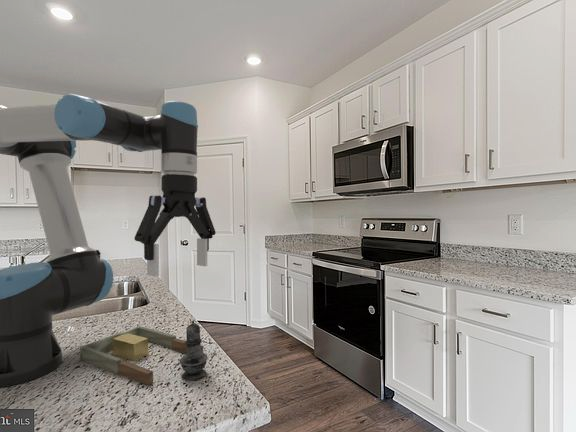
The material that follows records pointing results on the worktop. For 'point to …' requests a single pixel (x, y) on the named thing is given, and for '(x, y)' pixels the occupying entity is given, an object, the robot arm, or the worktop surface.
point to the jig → (113, 364)
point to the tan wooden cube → (135, 347)
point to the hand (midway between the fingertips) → (179, 270)
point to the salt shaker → (193, 355)
